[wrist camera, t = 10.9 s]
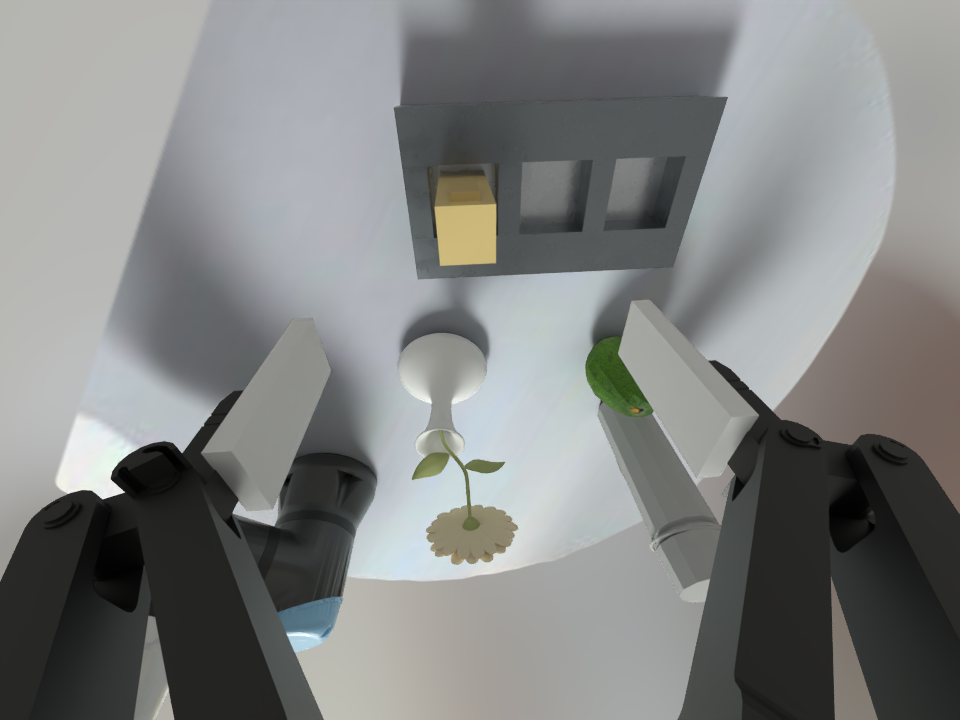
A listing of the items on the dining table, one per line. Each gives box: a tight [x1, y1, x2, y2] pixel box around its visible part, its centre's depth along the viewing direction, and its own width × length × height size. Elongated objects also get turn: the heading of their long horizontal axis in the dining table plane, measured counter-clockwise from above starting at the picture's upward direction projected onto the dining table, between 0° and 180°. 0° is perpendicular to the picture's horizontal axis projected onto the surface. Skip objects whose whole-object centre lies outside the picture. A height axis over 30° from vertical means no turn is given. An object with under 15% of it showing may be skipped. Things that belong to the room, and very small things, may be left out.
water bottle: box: [598, 402, 721, 603], centre depth 45 cm, size 9×8×25 cm
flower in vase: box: [398, 333, 518, 565], centre depth 37 cm, size 13×11×25 cm
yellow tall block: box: [435, 170, 496, 266], centre depth 29 cm, size 4×5×12 cm
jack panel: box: [394, 96, 728, 279], centre depth 33 cm, size 26×14×4 cm, turn 91°
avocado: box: [586, 336, 654, 417], centre depth 43 cm, size 8×8×12 cm
